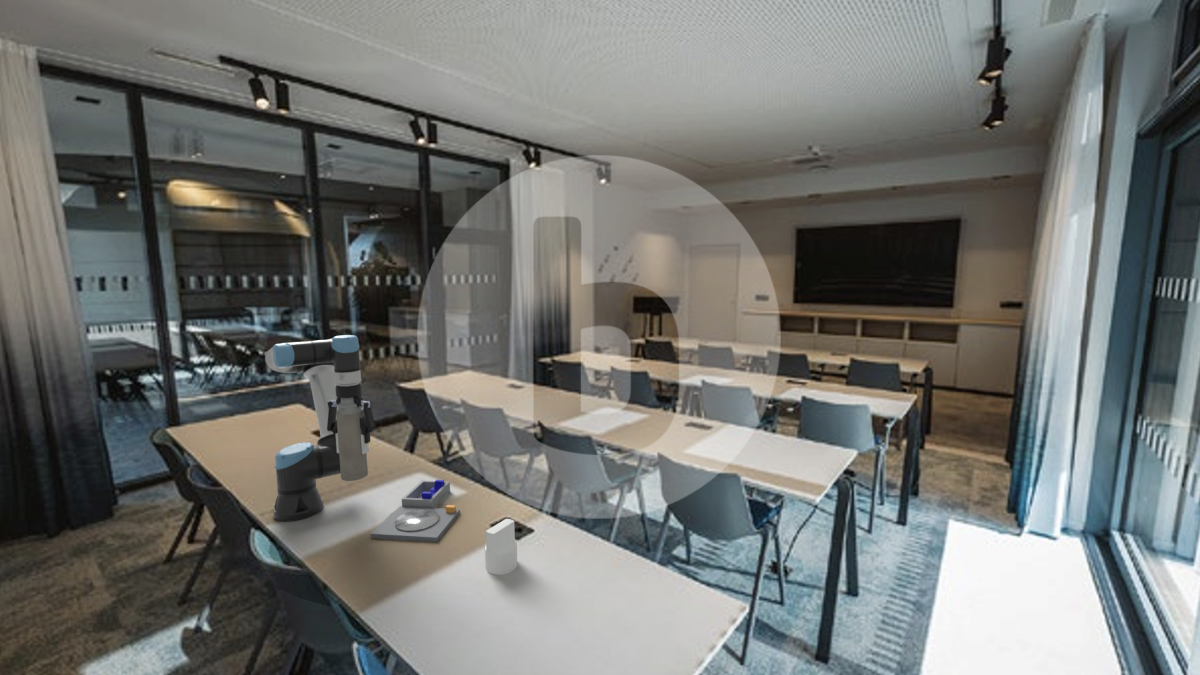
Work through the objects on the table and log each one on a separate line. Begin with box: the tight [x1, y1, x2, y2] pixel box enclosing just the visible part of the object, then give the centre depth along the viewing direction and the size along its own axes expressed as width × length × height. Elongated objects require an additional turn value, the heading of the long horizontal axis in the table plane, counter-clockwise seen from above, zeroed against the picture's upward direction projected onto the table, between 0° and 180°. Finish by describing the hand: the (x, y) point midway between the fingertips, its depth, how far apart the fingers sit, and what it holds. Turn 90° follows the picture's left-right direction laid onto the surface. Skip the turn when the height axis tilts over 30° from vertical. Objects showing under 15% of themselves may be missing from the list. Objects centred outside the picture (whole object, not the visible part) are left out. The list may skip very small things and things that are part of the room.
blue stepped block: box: [421, 479, 445, 499], centre depth 187 cm, size 12×4×6 cm, turn 173°
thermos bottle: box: [336, 397, 369, 482], centre depth 166 cm, size 8×8×28 cm
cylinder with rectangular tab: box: [484, 518, 518, 576], centre depth 146 cm, size 9×9×12 cm
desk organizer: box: [401, 480, 451, 508], centre depth 188 cm, size 11×16×4 cm
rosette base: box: [369, 504, 461, 543], centre depth 170 cm, size 22×19×4 cm
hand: (352, 452), depth 167 cm, fingers closed on thermos bottle, 8 cm apart
